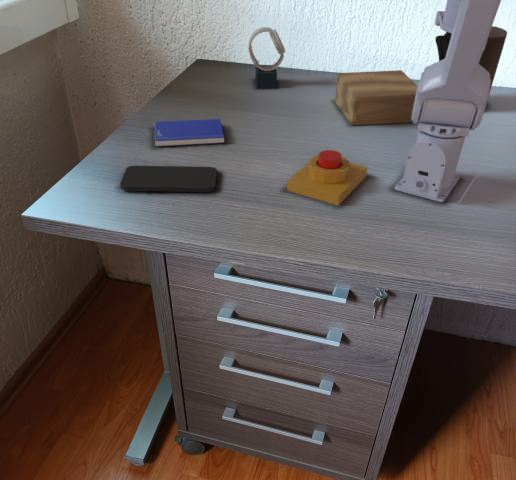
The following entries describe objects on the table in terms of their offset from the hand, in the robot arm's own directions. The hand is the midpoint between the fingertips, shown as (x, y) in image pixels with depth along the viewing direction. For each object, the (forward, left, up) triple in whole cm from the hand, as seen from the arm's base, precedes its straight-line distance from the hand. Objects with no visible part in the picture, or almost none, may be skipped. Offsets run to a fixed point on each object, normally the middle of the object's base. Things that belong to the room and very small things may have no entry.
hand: (445, 85), depth 89 cm
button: (-23, +10, -7) cm, 26 cm away
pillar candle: (+24, +1, -11) cm, 26 cm away
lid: (+9, +15, -6) cm, 18 cm away
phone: (-36, +32, -10) cm, 50 cm away
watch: (+12, +42, -11) cm, 45 cm away
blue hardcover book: (-20, +40, -11) cm, 46 cm away
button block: (-23, +10, -10) cm, 27 cm away
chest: (+10, +15, -10) cm, 21 cm away
